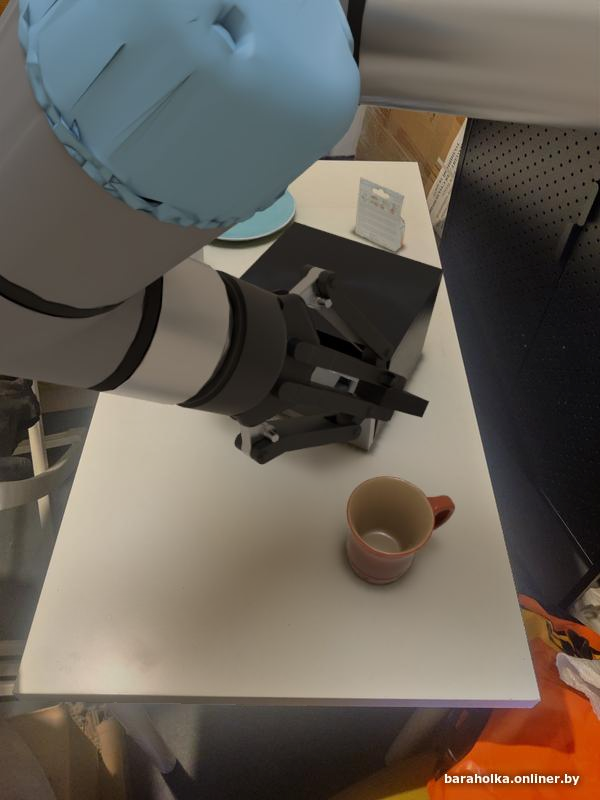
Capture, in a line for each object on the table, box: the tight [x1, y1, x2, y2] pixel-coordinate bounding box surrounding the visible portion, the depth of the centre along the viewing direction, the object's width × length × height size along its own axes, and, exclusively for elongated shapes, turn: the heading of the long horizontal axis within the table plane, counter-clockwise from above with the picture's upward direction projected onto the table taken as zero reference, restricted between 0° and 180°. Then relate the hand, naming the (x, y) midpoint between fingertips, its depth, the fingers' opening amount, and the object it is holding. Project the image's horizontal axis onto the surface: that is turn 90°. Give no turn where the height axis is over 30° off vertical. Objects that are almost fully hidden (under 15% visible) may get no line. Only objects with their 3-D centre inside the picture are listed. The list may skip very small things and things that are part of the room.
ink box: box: [354, 177, 406, 253], centre depth 97 cm, size 3×9×12 cm, turn 50°
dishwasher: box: [238, 221, 445, 442], centre depth 75 cm, size 18×22×16 cm
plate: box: [215, 188, 297, 242], centre depth 105 cm, size 22×22×3 cm
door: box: [280, 367, 375, 452], centre depth 68 cm, size 5×22×16 cm, turn 62°
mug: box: [345, 475, 456, 585], centre depth 59 cm, size 12×9×10 cm
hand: (412, 403), depth 46 cm, fingers closed
